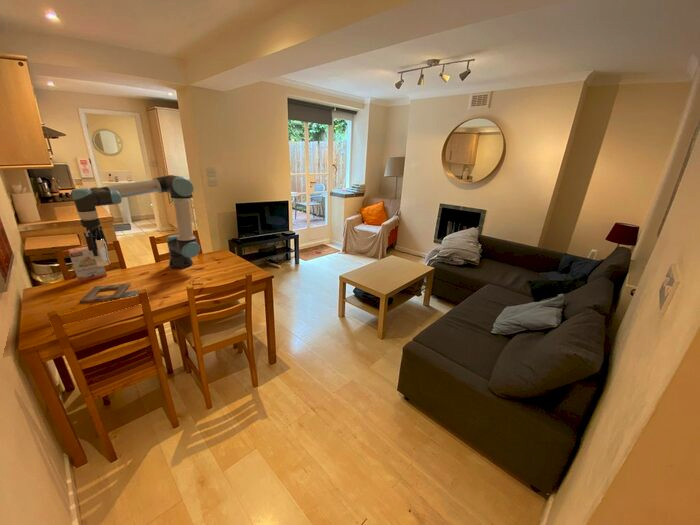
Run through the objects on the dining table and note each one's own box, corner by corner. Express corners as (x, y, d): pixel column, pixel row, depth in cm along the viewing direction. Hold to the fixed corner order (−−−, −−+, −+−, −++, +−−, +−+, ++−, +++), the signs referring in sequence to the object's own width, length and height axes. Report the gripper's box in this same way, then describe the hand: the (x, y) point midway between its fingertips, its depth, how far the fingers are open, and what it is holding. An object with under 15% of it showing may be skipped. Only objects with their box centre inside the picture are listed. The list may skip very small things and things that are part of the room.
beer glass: (110, 261, 165) (102, 236, 159) (113, 264, 161) (105, 239, 155) (94, 264, 160) (86, 239, 154) (97, 267, 156) (88, 242, 150)
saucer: (146, 290, 174) (146, 289, 174) (139, 299, 164) (139, 298, 163) (122, 292, 170) (122, 291, 170) (114, 302, 160) (114, 301, 160)
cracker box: (79, 282, 179) (68, 251, 171) (77, 279, 182) (67, 249, 174) (107, 276, 189) (98, 246, 181) (105, 273, 192) (96, 244, 184)
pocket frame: (130, 285, 179) (129, 283, 178) (118, 299, 163) (118, 297, 162) (95, 288, 173) (94, 286, 173) (80, 303, 157) (79, 300, 157)
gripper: (90, 214, 158) (102, 252, 167) (69, 223, 141) (84, 266, 150) (106, 214, 160) (117, 252, 169) (88, 223, 143) (101, 264, 152)
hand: (102, 258), depth 159 cm, fingers closed on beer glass, 7 cm apart
